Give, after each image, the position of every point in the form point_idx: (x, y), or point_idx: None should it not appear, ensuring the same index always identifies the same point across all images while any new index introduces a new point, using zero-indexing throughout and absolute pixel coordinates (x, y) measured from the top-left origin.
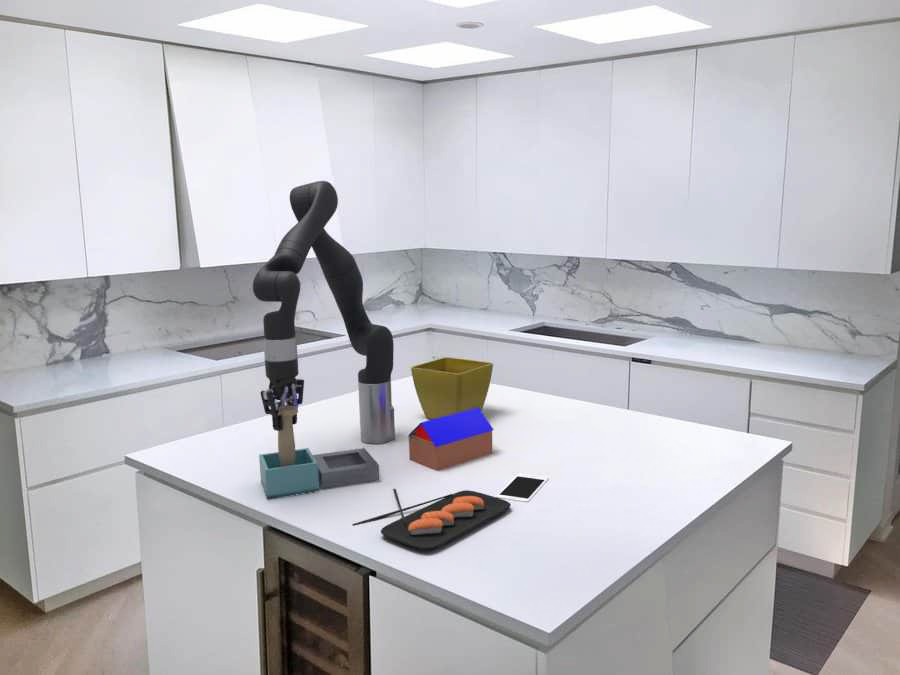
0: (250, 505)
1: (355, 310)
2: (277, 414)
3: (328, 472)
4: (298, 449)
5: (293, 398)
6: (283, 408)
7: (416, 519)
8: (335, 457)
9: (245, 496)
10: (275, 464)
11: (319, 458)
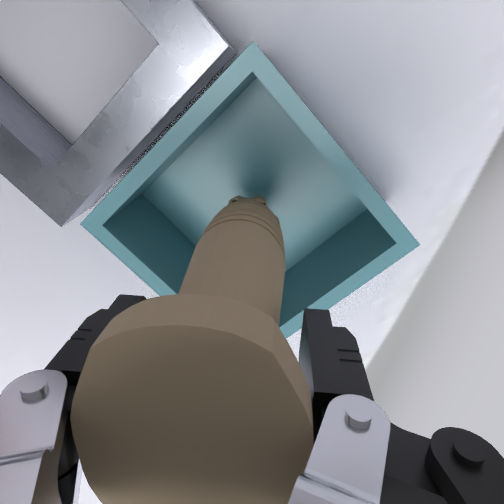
0: (445, 227)
1: None
2: (382, 423)
3: (203, 17)
4: (118, 255)
5: (37, 496)
6: (214, 455)
7: None
8: (8, 122)
9: (374, 285)
10: None
11: (72, 170)
